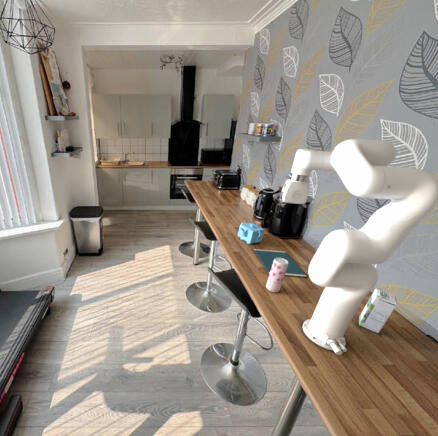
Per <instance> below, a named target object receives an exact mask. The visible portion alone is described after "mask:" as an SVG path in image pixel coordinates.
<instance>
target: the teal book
mask: <svg viewBox="0 0 438 436" xmlns="http://www.w3.org/2000/svg"><path fill="white" fill-rule="evenodd" d="M253 251H254V253H255V255H256V256H257V257H258V259H259V261H260V262H261V263H262V265H263V266H264V268H265V270H266V271H267V273H268V275H269V274H270V271H271V267H272V264H273V261H274V259H275V258H277V257H279V258H283V259H285V260H287V261H288V267H287V270H286V273H285V276H284V277H295V278H297V277H298V278H308V276H307V275H306V274H305V272H304V271H303V270H302V269H301V268H300V266H298V265H297V263H296V262H295V261H294V260H293V259H292V258H291V256H289V254H288V253H287V251H285V250H275V249H261V248H260V249H259V248H253Z"/></svg>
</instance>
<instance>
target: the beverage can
mask: <svg viewBox="0 0 438 436" xmlns="http://www.w3.org/2000/svg"><path fill="white" fill-rule="evenodd" d="M287 267H288V261H287V260H285V259H283V258H279V257H277V258H275V259H274V261H273V264H272V267H271V271H270V274H269V273H268V277H267V280H266V284H265V288H266V289H267V290H268V291H269V292H271V293H279V292H280V291H281V288H282V285H283V282H284V278H285V277H286V276H285V273H286V270H287Z"/></svg>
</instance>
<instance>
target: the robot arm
mask: <svg viewBox="0 0 438 436" xmlns="http://www.w3.org/2000/svg"><path fill="white" fill-rule="evenodd" d="M397 154H398V151H397V148H396V147H395V145H393V144H392V143H391V142H389V141H385V140H382V139H381V140H379V139H363V138H362V139H360V138H349V139H346V140H343V141H342V142H340V143H337V145H336V146H335V147H334V149H333V150H332V151H329V150H315V149H310V148H299V149H297V150H296V152H295V155H294V158H293V163H292V166H291V170H290V172H289V174H288V173H287V174H286V177H285V178H287V179H286V180H285V182H284V184H283V187H282V190H281V191H280V192H277V193H274V194H273V195H272V198H273V201H274V203H275V204H276V205H275V207H274V208H275V210H274V211H275V213H277V214H278V215H279V214H281V210H282V205H283V204H284V203H285V204H286V203H287V204H294V205H295V204H297V205H298V208H297V211H296V214H297V215H298V216H302V214H303V213H304V210H305V208H307V206H309V205H310V204H311V203H312V202H313V201H314V197H312V196H311V195H309V194H310V186H311V181H309V180H310V177H311V174H312V171H323V172H336V174H337V175H338V177H339V178H340V180H341V182H342V183H343V185H344V187H345V188H346V190H347V191H348V192H349V193H350V194H351V195H352V196H355V197H357V198H363V199H373V200H375V199H376V200H377V199H378V200H390V202H388V203H387V204H385V205H383V206H382V207H380V208H378V209H377V210H376V211H375V212H373V214H371V215H370V217H369V218H368V220H367V221H366V223H365V224H364V225H363V226H361V228H357V229H351V228H349V229H348V228H340V229H335V230H332V231H330V232H329V233H328V234H327V235H326V236H325V237H324V238H323V240H322V241H321V243H320V244H319V247H318V248H317V249H316V251H315V254H314V255H313V257H312V258H311V260H310V262H309V265H308V271H307V272H308V277H309V279H310V281H311V282H312V283H313V284H315V285H316V286H318V287H322V288H324V289H323V291H322V293H321V295H320V297H319V300H318V302H317V305H316V307H315V309H314V311H313V314H312V316H311V318H308V319H306V320H304V321H303V323H302V331H303V333H304V334H305V335H306V337H307V338H308V339H309V340H310V341H312V342H313V343H314V344H316V345H317V346H319V347H322V348H323V349H326V350H329V351H333V352H334V353H335V355H336V356H341V355H343V353H347V351H348V349H347V348H346V343H347V342H346V339H345V337H344V335H345V333H346V331H347V329H348V328H349V326H350V324H351V322H352V320H353V318H354V316H355V315H356V313H357V311H358V309H359V307H360V306H361V303H362V302H363V300H364V299H365V298H366V296H367V295H368V294H369V293H370V292H371V291H372V290H373V289H374V288H375V287H376V285H377V283H378V280H379V272H378V270H377V268H376V267H375V266H374V265H379V264H383V263H385V262H386V261H388V260H389V259H390V258H391V257H392V255H393V254H394V253H395V252H396V251H397V250H398V249H399V248H400V246H401V245H402V244H403V243H404V241H405V240H406V239H407V238H408V236H409V235H410V233H412V231H413V230H414V229H415V228H416V227H417V226H418V225H419V224H420V223H421V222H422V221H424V219H426V217H427V216H428V215H429V214H431V212H432V211H433V210H434V209H435V207H436V206H437V204H438V178H437V177H436V176H435V175H433V173H431V172H429V171H427V170H424V169H420V168H417V167H409V166H408V167H407V166H389V165H391V164H392V163H393V162H394V161H395V159H396V157H397ZM278 197H279V199H278Z"/></svg>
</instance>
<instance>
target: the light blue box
mask: <svg viewBox="0 0 438 436" xmlns="http://www.w3.org/2000/svg"><path fill="white" fill-rule="evenodd" d="M264 234H265V229H264V228H263V227H262V226H261V225H257V224H255V223H253V222H247V223H246V222H241V223H240V224H239V228H238V231H237V237H239V238H240V240H241V241H245V243H246V244H247V245H251V244H258V243H261V242H262V240H263V238H264V237H263V236H264Z"/></svg>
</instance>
